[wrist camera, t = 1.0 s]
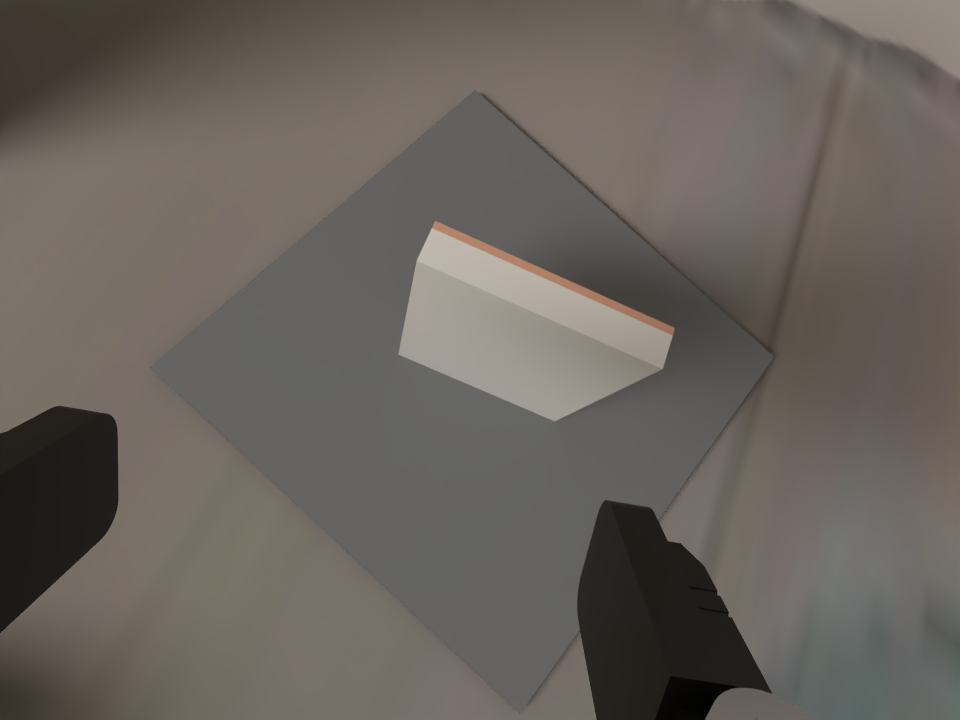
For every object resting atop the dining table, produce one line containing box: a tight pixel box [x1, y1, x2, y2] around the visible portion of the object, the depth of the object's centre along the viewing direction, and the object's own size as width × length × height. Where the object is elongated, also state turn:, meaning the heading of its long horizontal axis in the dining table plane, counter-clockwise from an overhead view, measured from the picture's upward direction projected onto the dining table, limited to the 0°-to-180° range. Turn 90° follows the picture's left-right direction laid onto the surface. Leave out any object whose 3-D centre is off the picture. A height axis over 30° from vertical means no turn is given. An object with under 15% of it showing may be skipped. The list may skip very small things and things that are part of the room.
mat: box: [150, 90, 774, 714], centre depth 32 cm, size 24×24×1 cm
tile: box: [398, 221, 675, 421], centre depth 25 cm, size 2×9×12 cm, turn 68°
